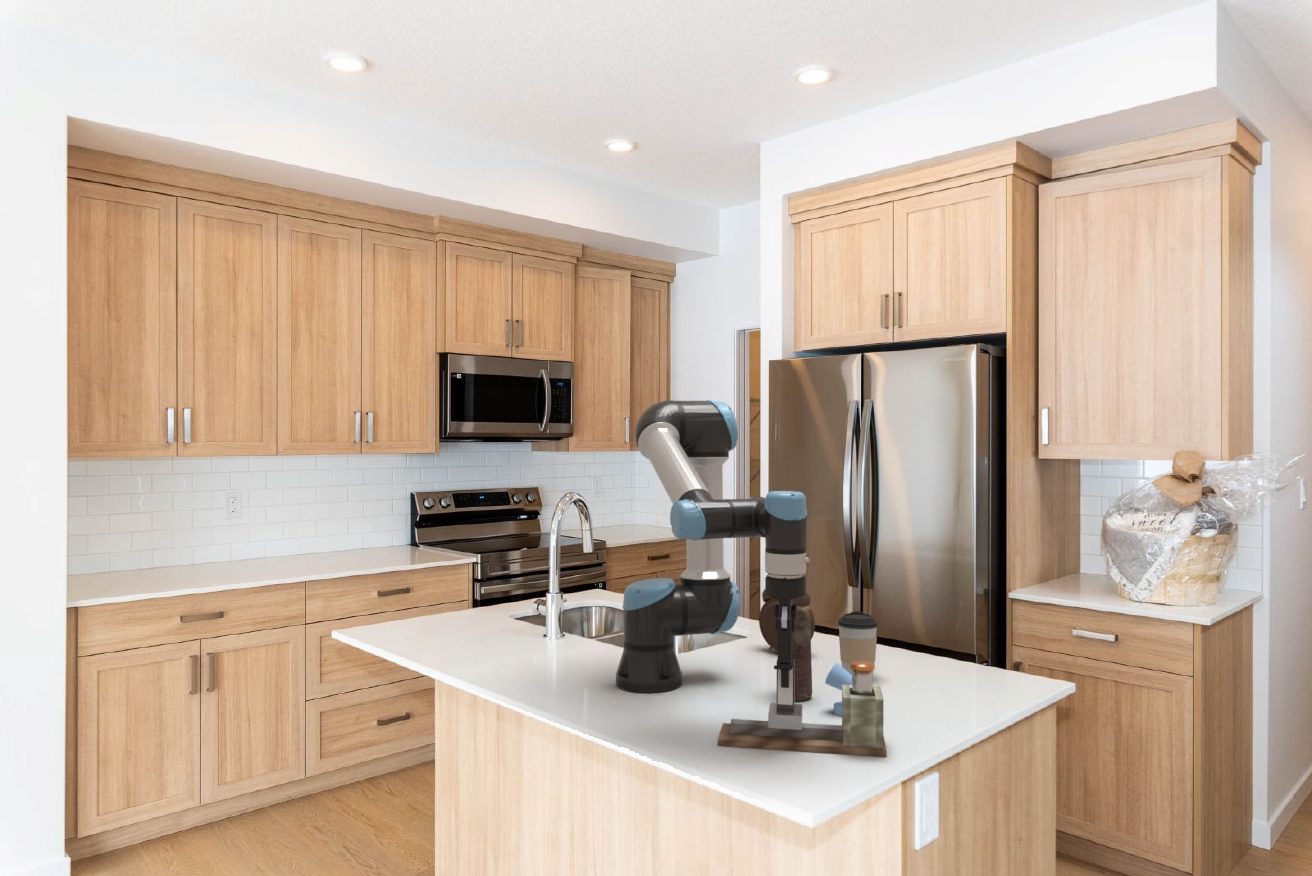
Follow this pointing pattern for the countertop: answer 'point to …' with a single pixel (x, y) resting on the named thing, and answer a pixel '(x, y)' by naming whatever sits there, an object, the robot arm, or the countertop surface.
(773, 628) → the alarm clock
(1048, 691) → the countertop surface
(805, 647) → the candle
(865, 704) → the rail
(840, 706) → the spotlight
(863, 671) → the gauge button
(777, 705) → the carriage
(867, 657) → the coffee cup
